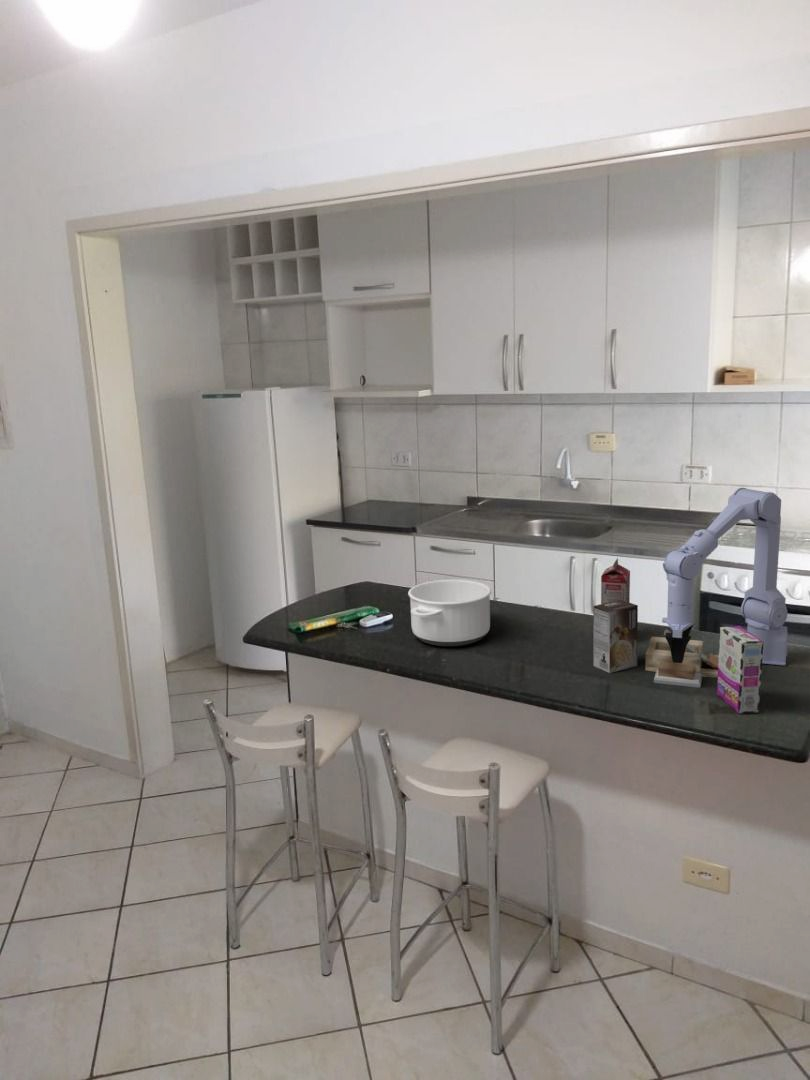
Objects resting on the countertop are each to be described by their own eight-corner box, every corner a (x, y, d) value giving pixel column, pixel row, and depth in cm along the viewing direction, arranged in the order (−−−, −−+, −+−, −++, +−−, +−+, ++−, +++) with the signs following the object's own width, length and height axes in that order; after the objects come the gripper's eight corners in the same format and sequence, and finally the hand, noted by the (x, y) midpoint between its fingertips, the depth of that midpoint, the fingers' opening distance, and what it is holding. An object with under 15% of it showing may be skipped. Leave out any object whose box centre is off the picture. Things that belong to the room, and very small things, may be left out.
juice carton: (600, 641, 230) (601, 563, 225) (604, 634, 236) (605, 557, 231) (625, 644, 227) (626, 565, 222) (628, 636, 233) (630, 558, 228)
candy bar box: (760, 713, 183) (765, 641, 179) (738, 714, 183) (742, 643, 179) (736, 692, 194) (740, 624, 190) (715, 694, 193) (718, 626, 190)
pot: (456, 662, 219) (455, 612, 216) (383, 648, 232) (381, 600, 229) (514, 625, 246) (514, 580, 243) (446, 614, 259) (445, 571, 256)
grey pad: (701, 677, 203) (702, 672, 203) (700, 687, 197) (700, 682, 197) (656, 672, 207) (656, 668, 207) (653, 682, 201) (653, 678, 201)
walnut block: (695, 673, 203) (695, 665, 202) (693, 679, 199) (693, 672, 198) (660, 669, 206) (661, 661, 205) (658, 675, 202) (658, 667, 202)
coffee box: (620, 658, 217) (621, 598, 214) (637, 666, 212) (639, 605, 208) (592, 666, 213) (592, 605, 210) (609, 674, 208) (610, 611, 204)
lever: (715, 663, 211) (719, 658, 211) (714, 671, 206) (718, 667, 205) (665, 628, 214) (668, 624, 214) (662, 636, 209) (666, 631, 208)
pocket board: (720, 659, 214) (721, 642, 213) (718, 677, 202) (719, 660, 201) (651, 652, 220) (651, 636, 219) (645, 670, 209) (645, 653, 208)
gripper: (665, 592, 206) (664, 644, 209) (659, 610, 193) (658, 666, 196) (696, 594, 203) (694, 647, 206) (692, 612, 190) (690, 669, 193)
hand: (678, 656), depth 201 cm, fingers open, 7 cm apart
